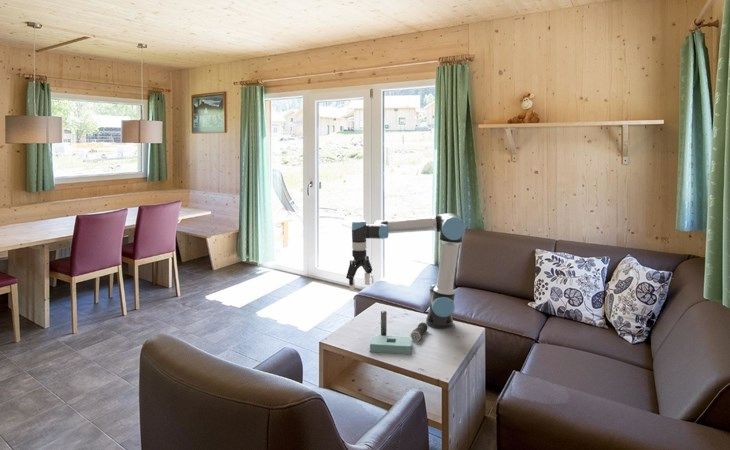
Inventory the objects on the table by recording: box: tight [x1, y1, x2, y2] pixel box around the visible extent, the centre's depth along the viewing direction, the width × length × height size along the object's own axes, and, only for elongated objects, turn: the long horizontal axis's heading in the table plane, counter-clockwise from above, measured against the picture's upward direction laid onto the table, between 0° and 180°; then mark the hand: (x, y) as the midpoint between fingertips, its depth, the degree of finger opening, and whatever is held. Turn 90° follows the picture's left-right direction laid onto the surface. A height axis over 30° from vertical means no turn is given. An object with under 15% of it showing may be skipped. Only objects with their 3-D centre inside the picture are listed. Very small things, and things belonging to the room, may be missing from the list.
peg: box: [380, 310, 388, 336], centre depth 234 cm, size 3×3×14 cm
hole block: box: [369, 334, 413, 355], centre depth 222 cm, size 20×11×4 cm, turn 82°
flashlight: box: [409, 322, 429, 342], centre depth 237 cm, size 15×5×5 cm, turn 156°
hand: (359, 287), depth 240 cm, fingers open, 13 cm apart
